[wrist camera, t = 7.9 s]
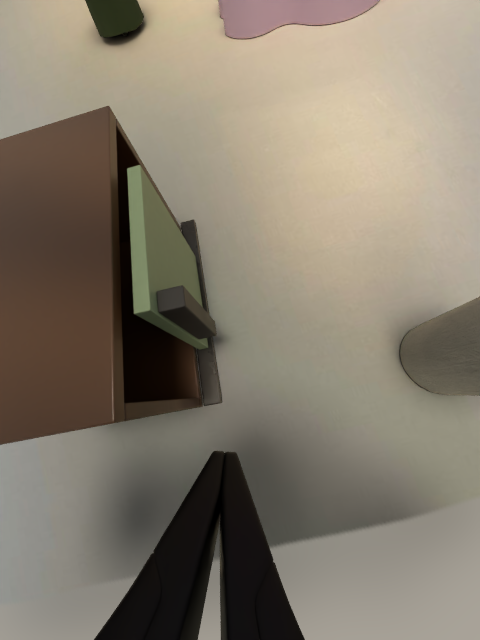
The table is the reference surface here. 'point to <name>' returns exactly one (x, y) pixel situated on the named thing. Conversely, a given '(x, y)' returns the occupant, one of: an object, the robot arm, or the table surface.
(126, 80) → the table surface
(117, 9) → the character mug
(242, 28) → the clip
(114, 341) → the cupboard
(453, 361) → the grey hollow tube
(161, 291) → the sliding door
